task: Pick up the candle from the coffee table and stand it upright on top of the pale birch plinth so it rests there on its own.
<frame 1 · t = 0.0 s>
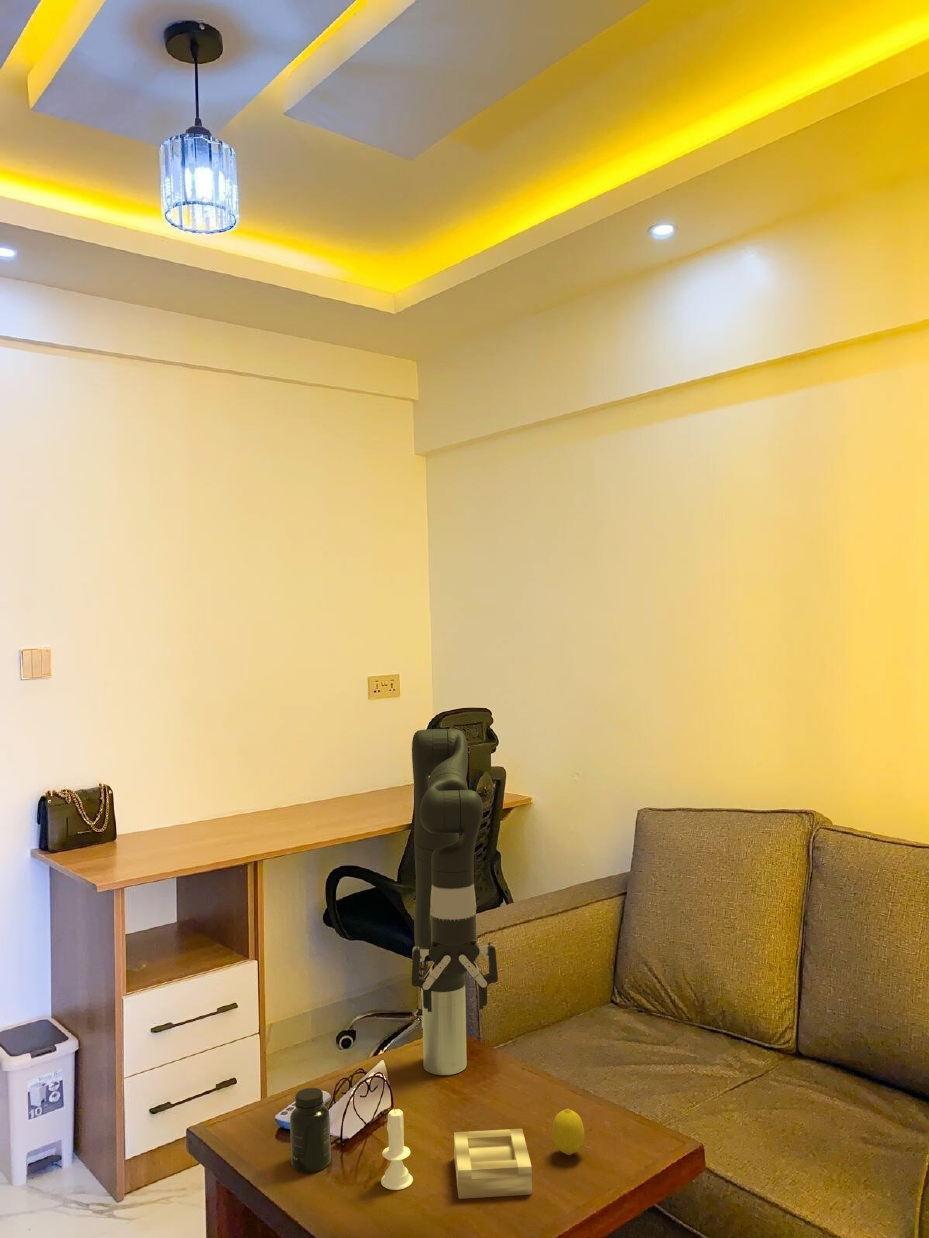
hand: (455, 1009, 157), 29 cm above the table, tool pointing down, fingers open, 8 cm apart
birch plinth: (491, 1175, 159), on the table
lemon: (568, 1156, 165), on the table
candle: (396, 1182, 158), on the table
supplement bottle: (310, 1164, 164), on the table
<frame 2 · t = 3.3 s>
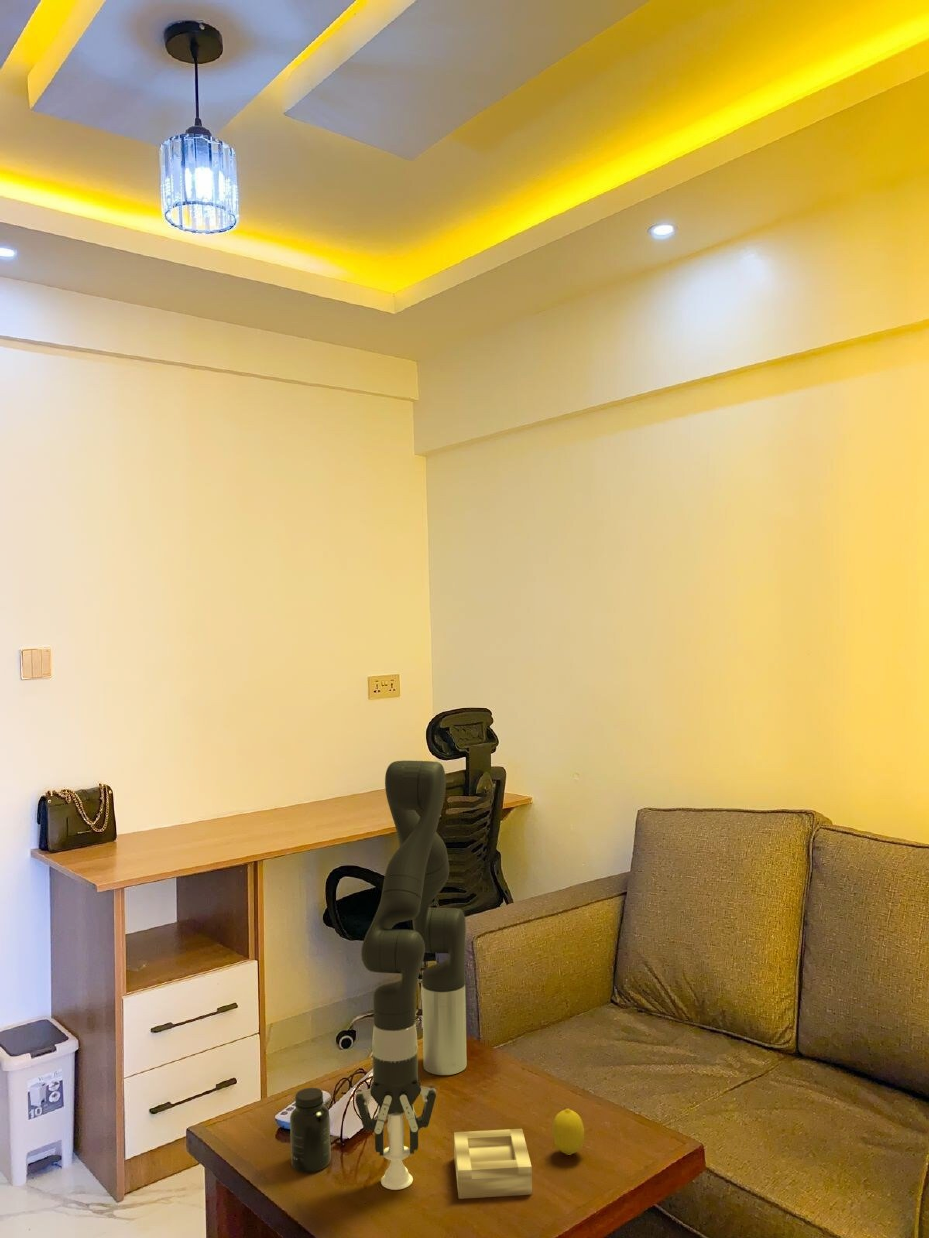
hand: (396, 1151, 158), 5 cm above the table, tool pointing down, fingers closed on candle, 4 cm apart
candle: (396, 1182, 158), on the table, touching gripper
everything else where it was.
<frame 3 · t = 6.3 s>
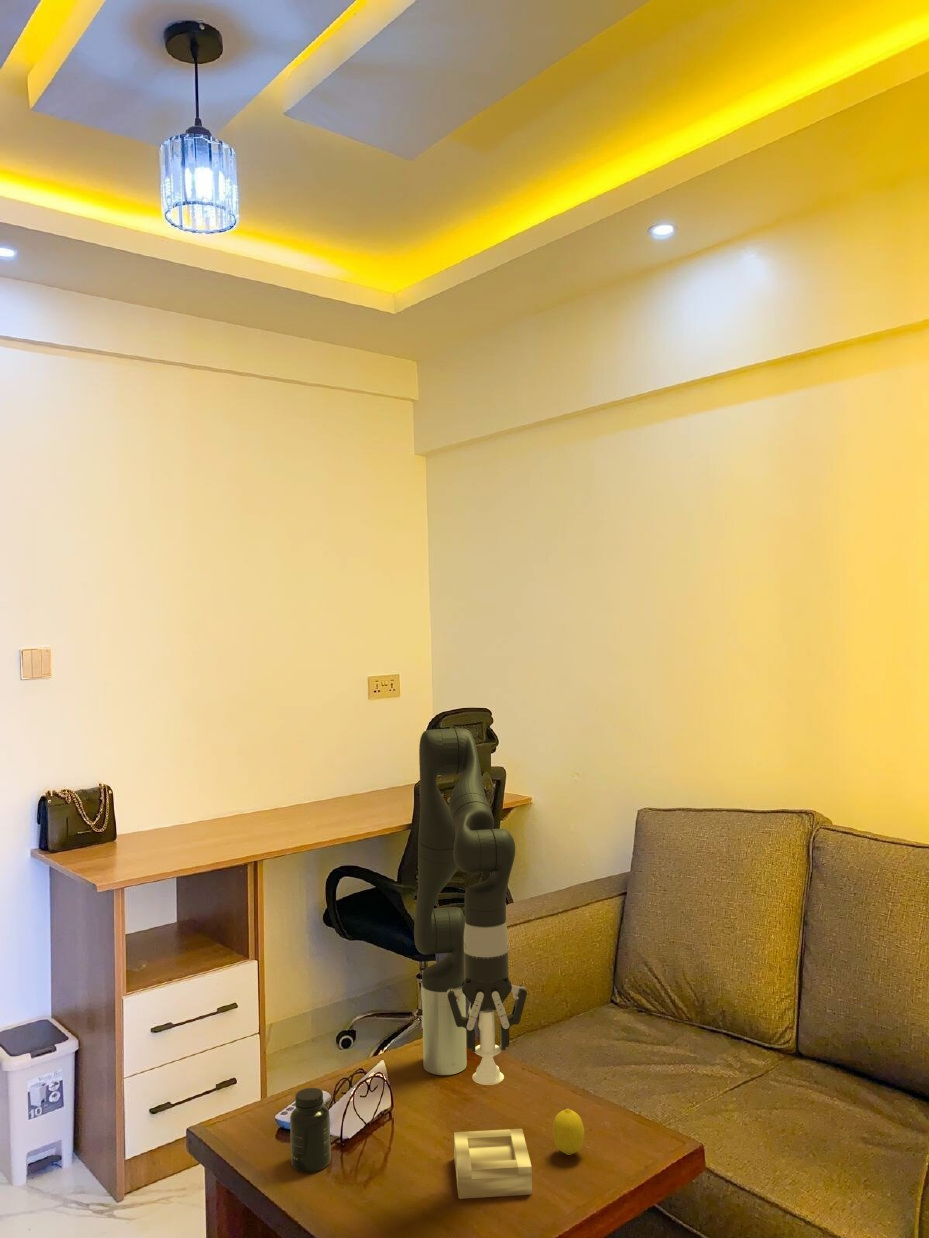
hand: (487, 1048, 160), 21 cm above the table, tool pointing down, fingers closed on candle, 4 cm apart
candle: (488, 1079, 160), point 16 cm above the table, touching gripper
everything else where it was.
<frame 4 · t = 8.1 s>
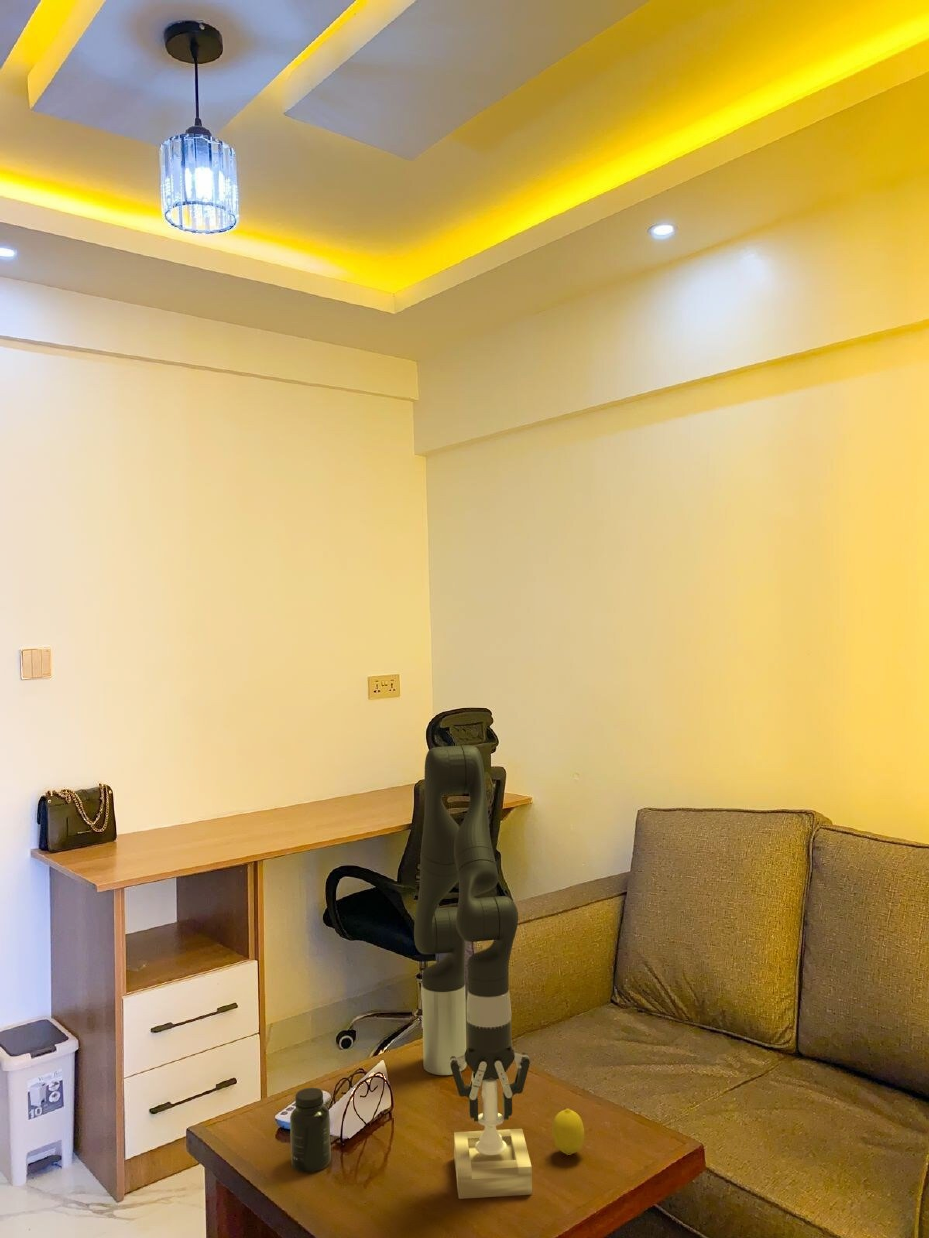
hand: (490, 1117, 160), 10 cm above the table, tool pointing down, fingers closed on candle, 4 cm apart
candle: (491, 1148, 159), point 5 cm above the table, touching gripper
everything else where it was.
when the fingers open (8 cm above the table, at t = 9.6 s): candle stays where it is, resting on birch plinth.
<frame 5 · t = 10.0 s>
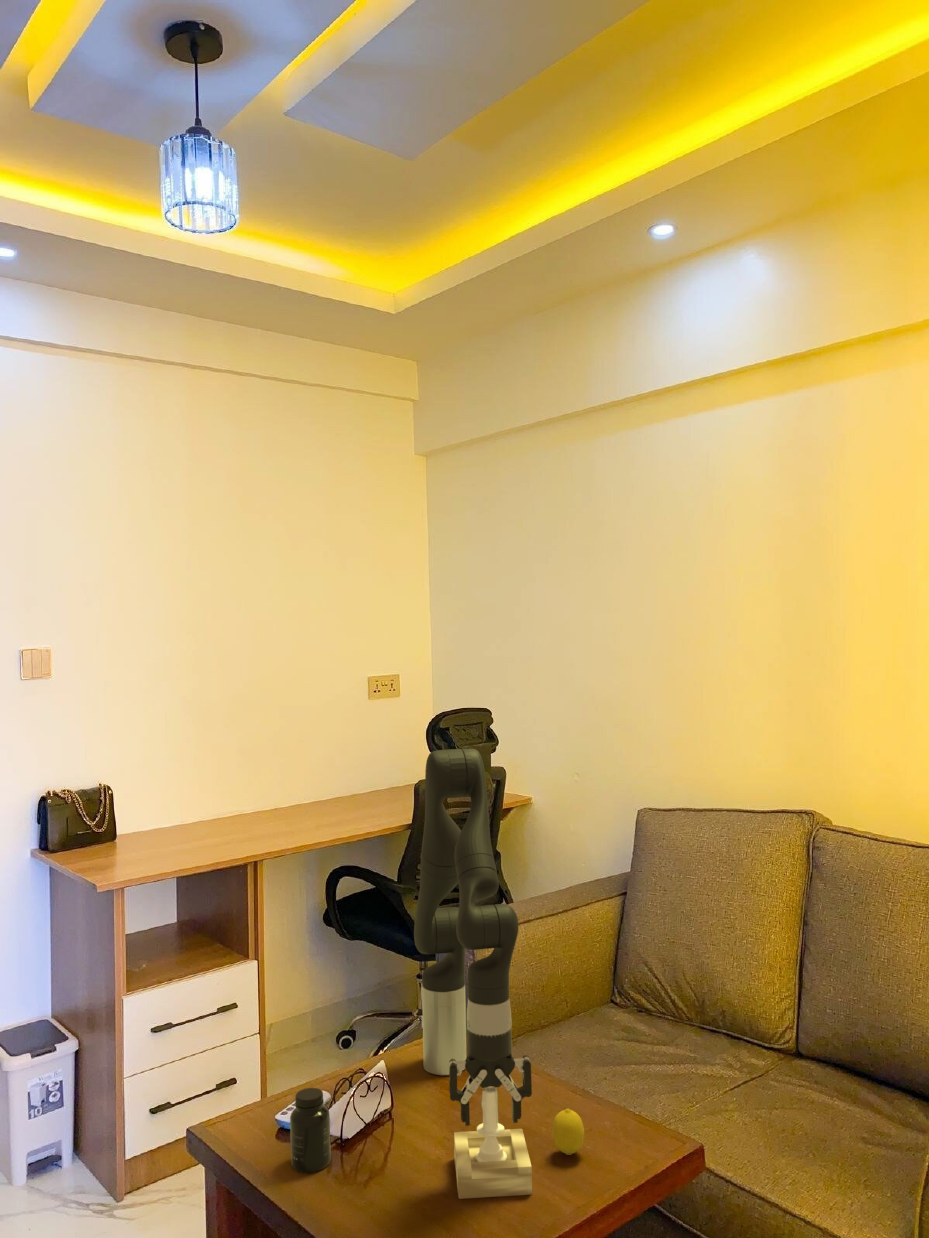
hand: (490, 1121, 159), 9 cm above the table, tool pointing down, fingers open, 7 cm apart
candle: (491, 1158, 159), point 3 cm above the table, touching birch plinth
everything else where it was.
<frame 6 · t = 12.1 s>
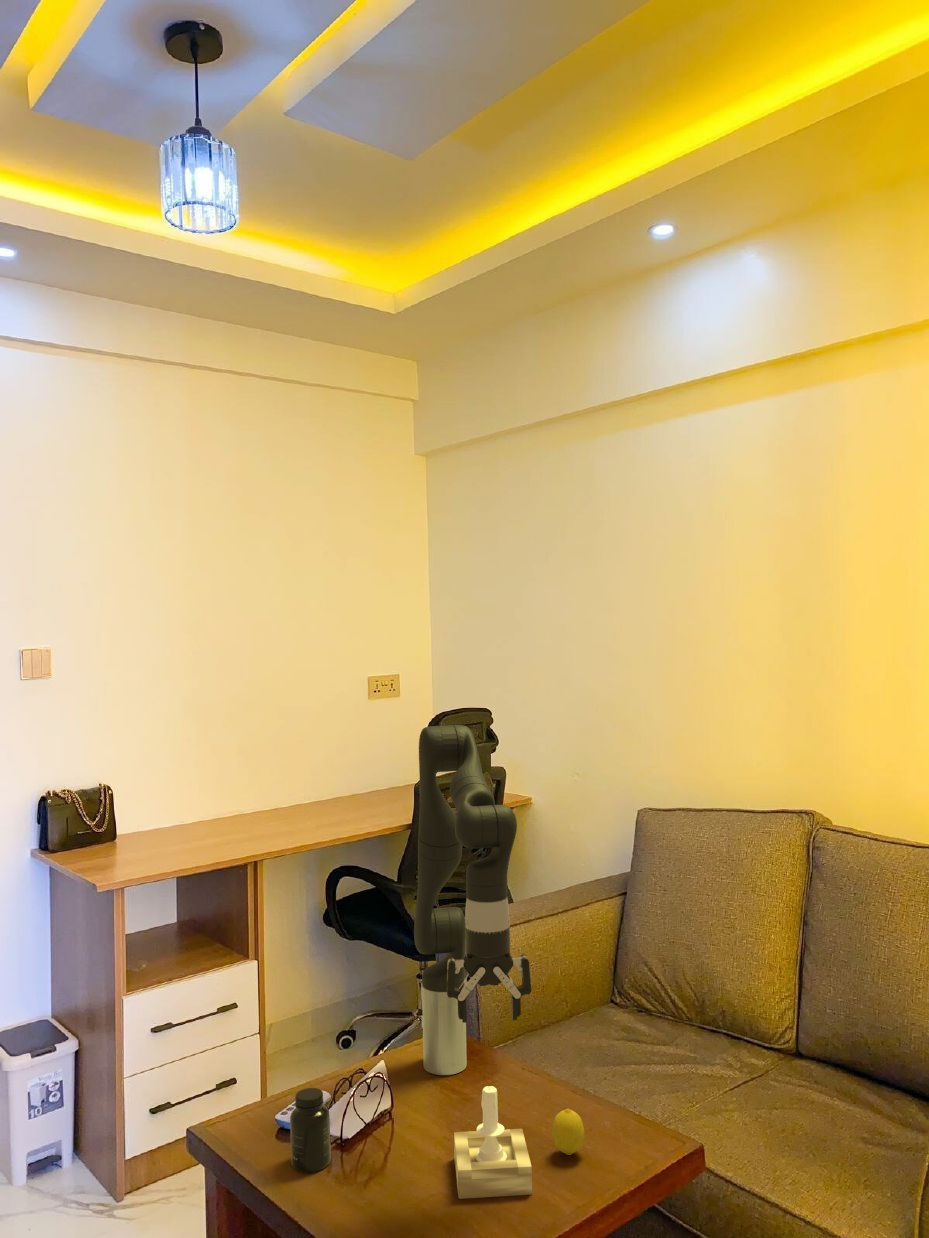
hand: (489, 1019, 160), 26 cm above the table, tool pointing down, fingers open, 8 cm apart
nothing on the table moved.
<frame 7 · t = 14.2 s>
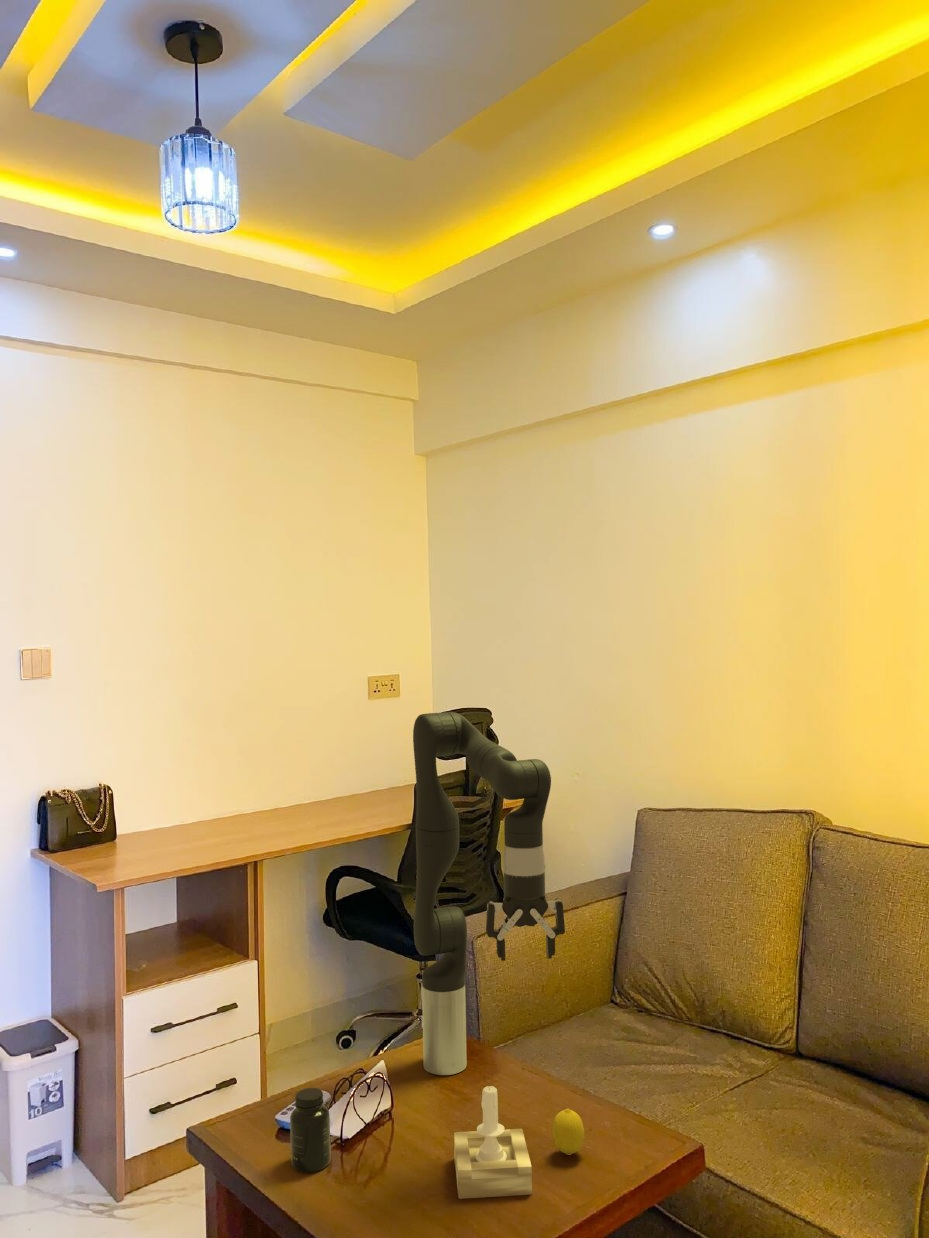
hand: (525, 958, 173), 32 cm above the table, tool pointing down, fingers open, 8 cm apart
nothing on the table moved.
at the end: candle inside the target area on the birch plinth (0.1 cm from its centre), point 2.8 cm above the birch plinth's base; candle tilted 0°; candle touching birch plinth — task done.
